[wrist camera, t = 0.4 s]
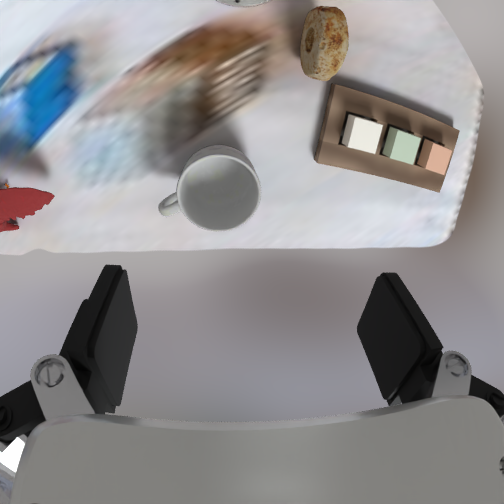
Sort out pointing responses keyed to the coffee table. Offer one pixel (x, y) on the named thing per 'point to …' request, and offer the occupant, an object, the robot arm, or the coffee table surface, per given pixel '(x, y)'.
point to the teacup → (215, 190)
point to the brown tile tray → (389, 116)
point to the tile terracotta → (434, 157)
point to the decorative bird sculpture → (20, 204)
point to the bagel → (324, 42)
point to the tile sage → (401, 145)
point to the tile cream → (362, 134)
